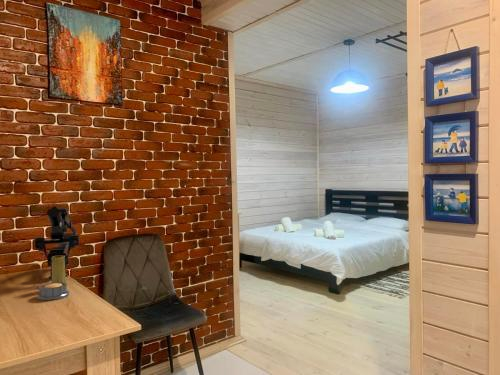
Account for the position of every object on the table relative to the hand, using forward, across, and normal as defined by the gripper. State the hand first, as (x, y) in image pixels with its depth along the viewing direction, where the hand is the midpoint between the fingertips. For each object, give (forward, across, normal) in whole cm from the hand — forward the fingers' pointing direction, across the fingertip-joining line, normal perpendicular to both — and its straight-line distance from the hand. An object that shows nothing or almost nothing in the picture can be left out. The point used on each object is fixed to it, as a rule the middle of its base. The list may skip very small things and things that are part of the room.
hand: (57, 256), depth 178 cm
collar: (+23, -1, -5) cm, 24 cm away
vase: (+15, 0, +4) cm, 15 cm away
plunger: (+21, -1, -7) cm, 22 cm away
